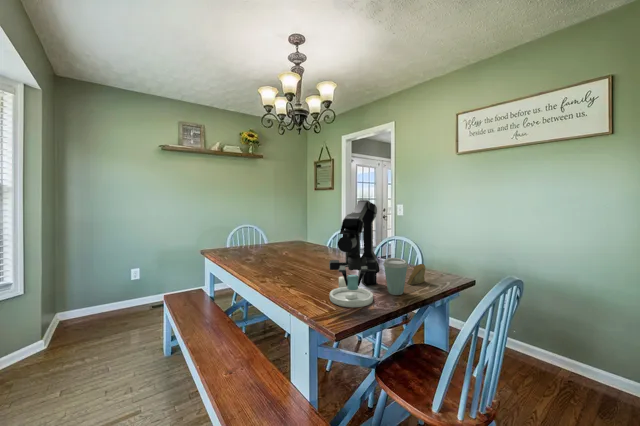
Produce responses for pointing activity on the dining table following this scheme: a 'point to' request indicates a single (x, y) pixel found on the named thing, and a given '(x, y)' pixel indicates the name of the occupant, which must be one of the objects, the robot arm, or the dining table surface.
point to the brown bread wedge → (417, 275)
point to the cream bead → (342, 282)
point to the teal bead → (352, 282)
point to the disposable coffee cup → (395, 275)
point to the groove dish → (351, 297)
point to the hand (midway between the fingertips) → (352, 285)
